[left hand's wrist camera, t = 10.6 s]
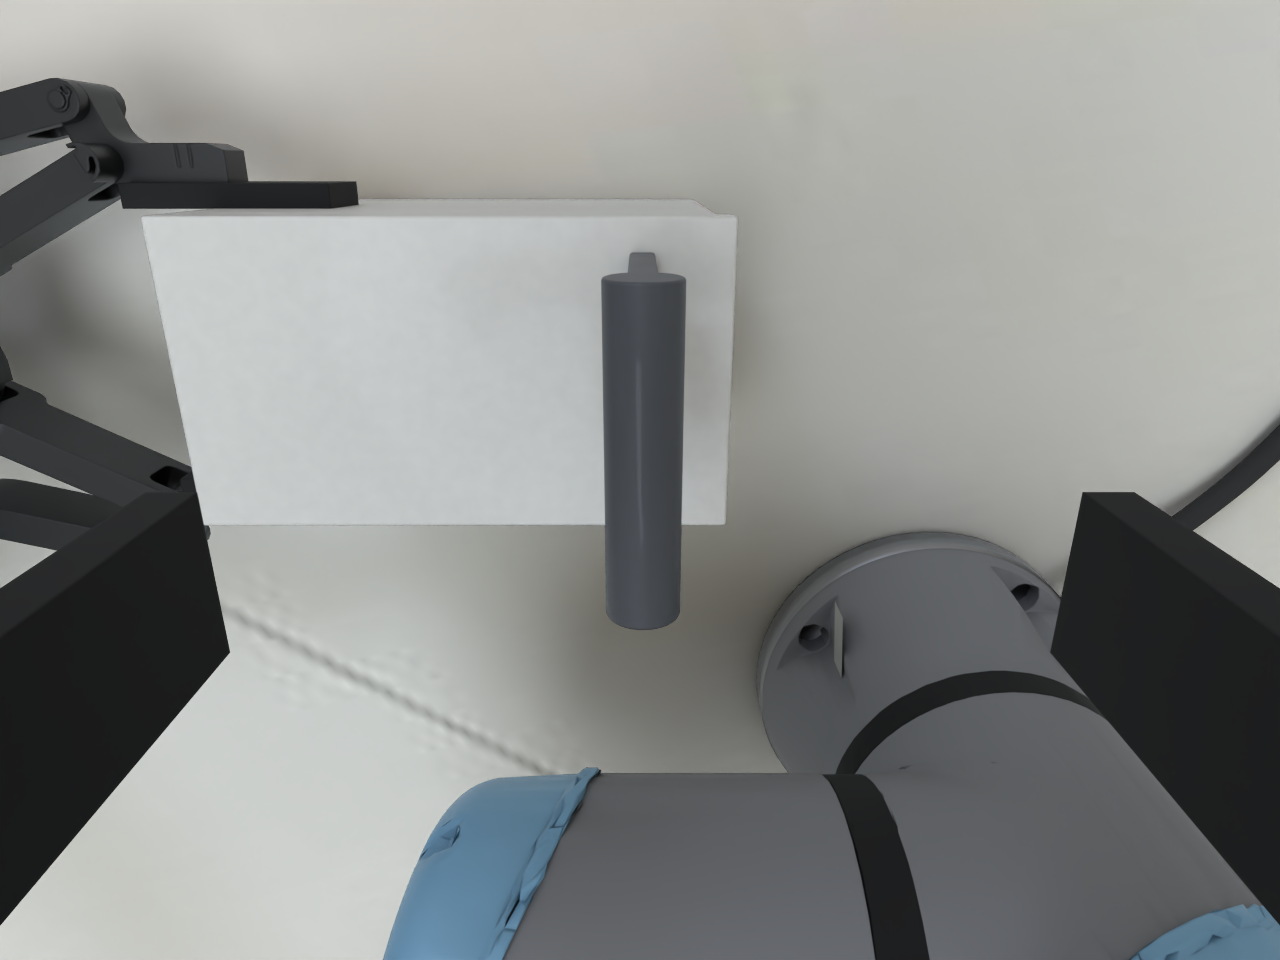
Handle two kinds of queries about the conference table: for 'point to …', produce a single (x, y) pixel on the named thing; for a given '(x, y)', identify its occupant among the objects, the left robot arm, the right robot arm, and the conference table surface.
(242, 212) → the chest
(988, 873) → the left robot arm
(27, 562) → the conference table surface
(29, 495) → the right robot arm
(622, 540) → the lid
